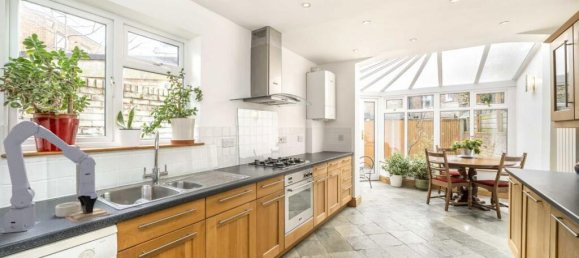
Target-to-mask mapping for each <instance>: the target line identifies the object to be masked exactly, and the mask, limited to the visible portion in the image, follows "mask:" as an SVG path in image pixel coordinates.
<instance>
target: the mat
mask: <svg viewBox="0 0 579 258" xmlns="http://www.w3.org/2000/svg"><path fill="white" fill-rule="evenodd" d="M97 208H98V209H101V210H104V211H106V212H107V213H106V214H102V215H98V216H94V217H90V218H87V219H83V220H79V221H78V220H76V219H74V218H72V217H70V216H63V218H66V219H68V220H69V221H72V222H73V223H78V222H83V221H86V220H91V219H94V218H98V217H103V216H105V215H109V214H111V212H110V211H108V210H105V209H103V208H99V207H97Z"/></svg>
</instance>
